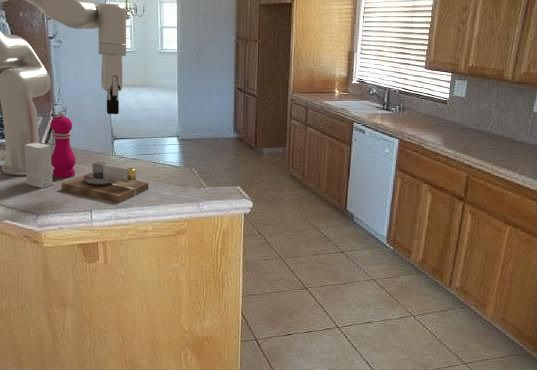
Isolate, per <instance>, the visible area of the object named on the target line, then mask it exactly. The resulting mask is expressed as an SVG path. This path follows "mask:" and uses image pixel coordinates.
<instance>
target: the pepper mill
mask: <svg viewBox="0 0 537 370" xmlns="http://www.w3.org/2000/svg"><path fill="white" fill-rule="evenodd" d="M50 128H51V130H52V131H53V133H52V134H53V138H54V141H55V142H54V150H53V152H52V153H51V166H52V167H53V168H52V176H53V177H56V178H61V179H63V178H65V179H66V178H72V177H74V176H75V173H76V172H75V168H74V166H76V164H77V161H76V156H75V154H74V151H73V150H72V147H71V142H70V141H71V139H70V138H71V137H72V135H71V134H72V132H71V130H72V129H73V123H72V120H71V119H70V118H68V117H66V116H65V112H63V111H58V113H57V116H56V117H54V118H53V119H52V120H51V121H50Z"/></svg>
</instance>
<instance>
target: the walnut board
mask: <svg viewBox="0 0 537 370" xmlns="http://www.w3.org/2000/svg"><path fill="white" fill-rule="evenodd" d="M89 173H92V171H91V172H88V173H85V174H82V175H80V176H77V177H75V178H71V179H69V180H66V181H63V182H61V190H63V191H66V192H71V193H74V194H80V195H84V196H88V197H93V198H96V199H101V200H105V201H110V202H114V203H118V204H120V203H123V202H124V201H126V199H127V200H128V199H130V198H133V197H135V196H138V195H139V194H141V193H144V192H145V191H148V190H149V186H150V185H149V182H145V181H140V180H137V179H136V180H132V182H130V183H126V182H121V181H116V182H115V183H114V184H111V185H107V186H91V185H87V184H85V183H84V176H85V175H86V174H89ZM143 191H144V192H143Z"/></svg>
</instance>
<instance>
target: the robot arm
mask: <svg viewBox="0 0 537 370" xmlns="http://www.w3.org/2000/svg"><path fill="white" fill-rule="evenodd" d="M7 1H9V0H0V4H2V3H5V2H7ZM24 1H25V2H26V3H28V4H30V5H33V6H35V7H36V8H37V9H38V11H40V12H41V13H42V14H43V15H45V16H46V17H48V18H50V19H52V20H53V21H54V22H55V21H56V22H58V23H60V25H61V24H62V25H64V26H65V27H67V28H71V29H74V30H79V29H84V30H85V29H86V30H91V29H97V32H98V33H97V35H98V55H101V73H100V74H101V77H100V79H101V81H100V82H101V83H100V85H101V88H102V90H104V91H106V113H107V114H108V115H118V114H119V113H120V107H119V105H120V103H119V102H120V101H119V92H121V91H122V90H123V57H126V56H127V10H126V7H125V6H124V5H123V4H115V3H101V2H97V1H93V0H92V1H91V0H24ZM4 68H8V69H5V70H4V71H2V72H1V73H0V104H1V110H2V122H3V131H4V141H5V142H4V144H5V152H3V153H2V155H0V161H3V162H4V165H2V167H1V171H2V173H4V174H6V175H10V176H11V175H13V176H27V174H26V161H25V147H24V145H26V144H31V143H40V138H39V137H40V135H39V120H38V112H37V108H36V105H35V103H34V101H33V98H37V97H42V96H45V95H46V94H47V93H48V92H49V91H50V89H51V84H52V82H51V80H52V79H51V77H50V74H49V72H48V71H47V69H46V67H45V65H44V64H43V63H42V61H41V60H40V58H39V56H38V55H37V54H36V52H35V50H34V49H33V47H32V46H31V45H30V43H29V42H28V41H27V40H25V39H24V38H23V37H21V36H19V35H15V34H5V33H3V32H2V30H1V29H0V69H4Z"/></svg>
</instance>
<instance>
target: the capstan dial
mask: <svg viewBox="0 0 537 370" xmlns="http://www.w3.org/2000/svg"><path fill="white" fill-rule="evenodd" d="M91 164H92V165H91V170H92V171H91V172H92V173H91V172H88V173H89V174H88V173H85V174H86V175H85V174H84V175H85V176H84V183H85V184H87V185H91V186H107V185H111V184H114V183H115V182H116V181H121V182H126V183H130V182H132V180H137V168H133V167H128V166H127V167H126V166H120V165H114V164H108V163H106V162H104V161H103V162H102V161H95V162H92V163H91Z"/></svg>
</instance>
